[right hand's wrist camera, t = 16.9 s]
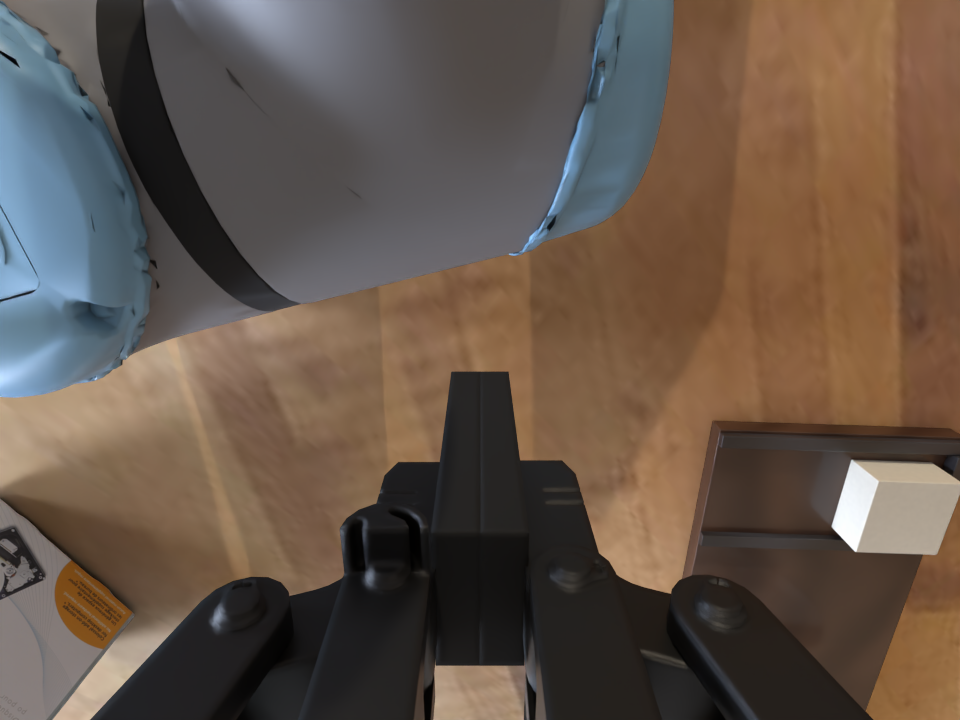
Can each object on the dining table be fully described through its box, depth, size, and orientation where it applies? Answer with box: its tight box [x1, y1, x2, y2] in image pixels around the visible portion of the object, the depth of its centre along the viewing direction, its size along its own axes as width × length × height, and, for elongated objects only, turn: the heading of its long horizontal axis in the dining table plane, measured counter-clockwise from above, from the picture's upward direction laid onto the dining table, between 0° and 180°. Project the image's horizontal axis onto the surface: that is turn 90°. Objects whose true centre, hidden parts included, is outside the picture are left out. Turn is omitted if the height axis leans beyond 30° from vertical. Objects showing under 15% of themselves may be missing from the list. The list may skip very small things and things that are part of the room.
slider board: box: [682, 421, 960, 711], centre depth 43 cm, size 18×32×10 cm, turn 178°
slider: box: [832, 460, 960, 555], centre depth 41 cm, size 6×6×3 cm
